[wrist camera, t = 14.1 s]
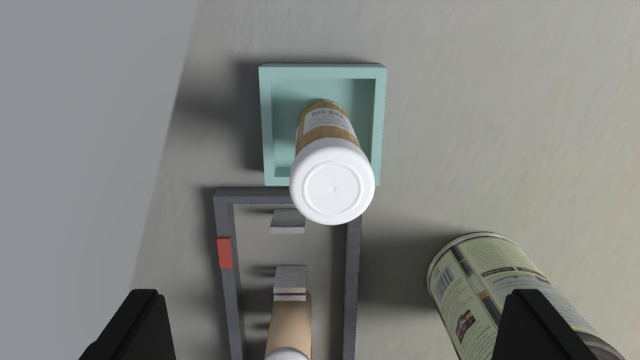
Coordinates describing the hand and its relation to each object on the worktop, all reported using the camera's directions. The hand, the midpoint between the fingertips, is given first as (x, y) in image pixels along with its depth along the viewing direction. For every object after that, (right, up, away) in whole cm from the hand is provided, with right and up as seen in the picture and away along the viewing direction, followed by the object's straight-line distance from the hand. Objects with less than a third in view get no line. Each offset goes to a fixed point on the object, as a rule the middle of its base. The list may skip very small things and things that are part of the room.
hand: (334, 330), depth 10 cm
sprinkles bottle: (0, +9, +22) cm, 23 cm away
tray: (0, +9, +22) cm, 24 cm away
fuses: (-3, -12, +31) cm, 33 cm away
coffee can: (+16, -5, +29) cm, 33 cm away
